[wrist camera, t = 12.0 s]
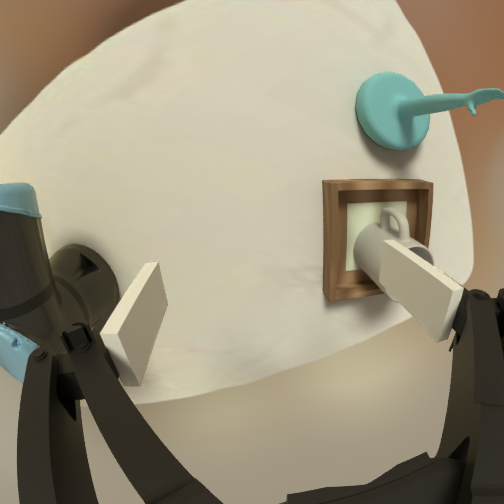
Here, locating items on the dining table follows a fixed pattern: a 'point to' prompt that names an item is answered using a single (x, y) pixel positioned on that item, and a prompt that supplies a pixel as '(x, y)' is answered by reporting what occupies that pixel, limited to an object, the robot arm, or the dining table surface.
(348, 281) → the walnut box
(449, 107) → the teal branch stand
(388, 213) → the mug
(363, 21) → the dining table surface
